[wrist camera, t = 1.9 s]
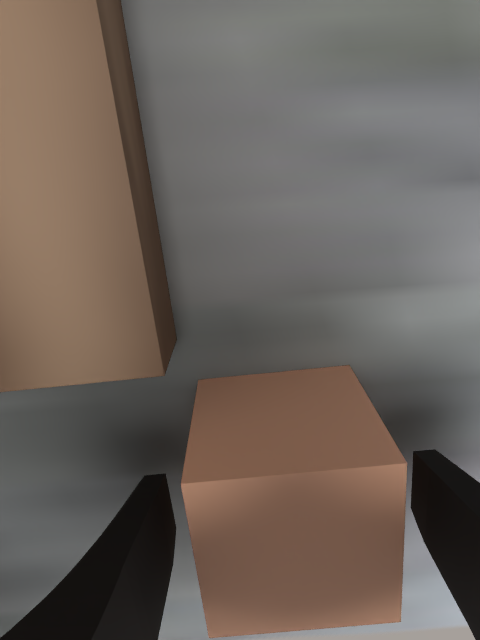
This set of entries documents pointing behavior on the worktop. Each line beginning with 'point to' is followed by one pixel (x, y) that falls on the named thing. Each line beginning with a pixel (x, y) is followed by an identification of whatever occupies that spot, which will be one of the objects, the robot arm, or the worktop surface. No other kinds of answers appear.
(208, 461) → the terracotta cube
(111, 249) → the walnut block
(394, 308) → the worktop surface
